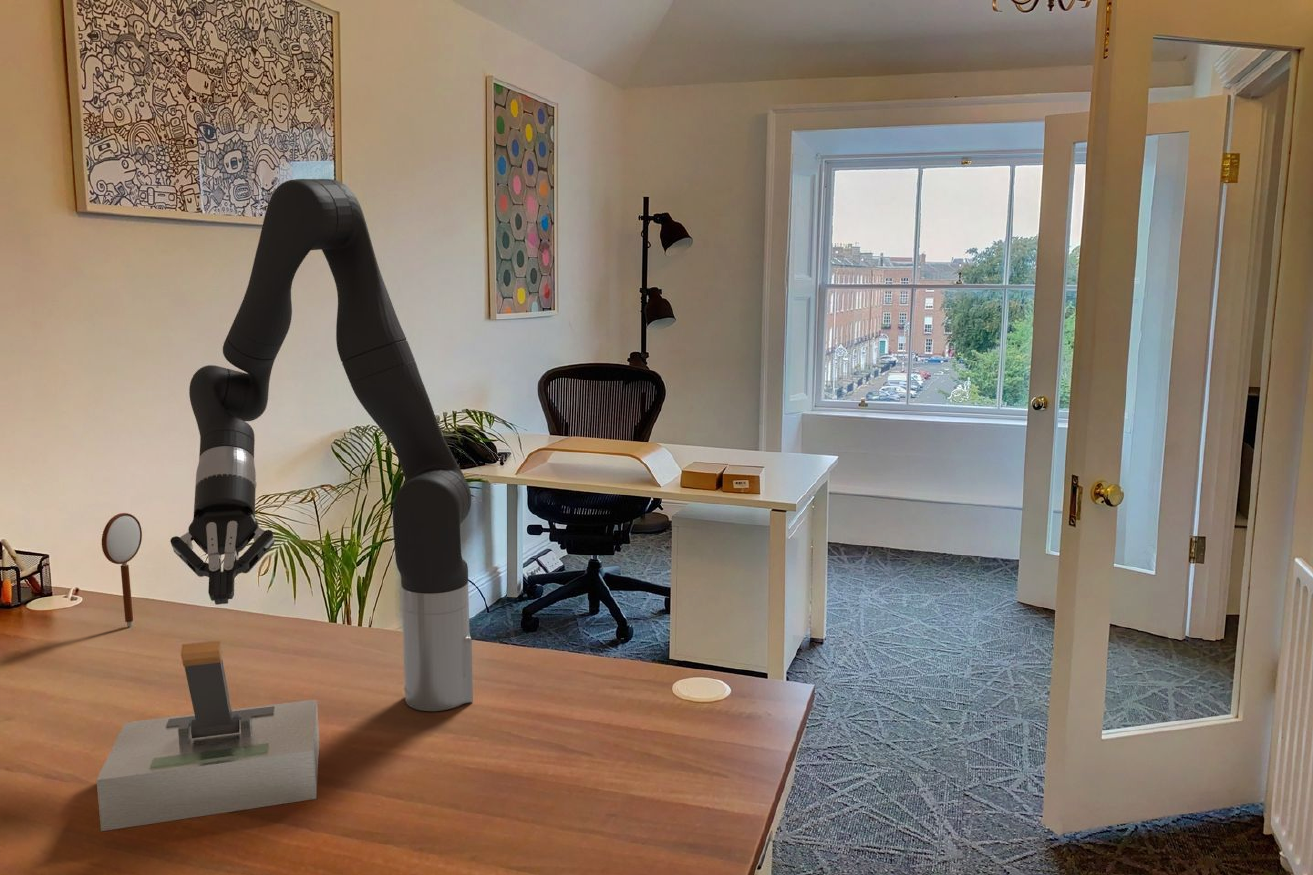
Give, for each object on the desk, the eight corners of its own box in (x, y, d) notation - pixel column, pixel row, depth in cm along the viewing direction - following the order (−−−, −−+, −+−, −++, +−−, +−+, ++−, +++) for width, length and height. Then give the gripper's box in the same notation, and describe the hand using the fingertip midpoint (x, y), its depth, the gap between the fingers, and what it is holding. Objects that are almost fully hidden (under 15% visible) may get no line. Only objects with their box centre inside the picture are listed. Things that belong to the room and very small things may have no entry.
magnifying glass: (115, 636, 157) (105, 520, 154) (106, 635, 157) (96, 519, 154) (151, 618, 165) (142, 508, 162) (143, 617, 166) (134, 507, 162)
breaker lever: (240, 720, 113) (226, 637, 104) (239, 736, 111) (225, 652, 102) (194, 726, 111) (176, 642, 102) (192, 742, 109) (174, 657, 101)
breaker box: (319, 742, 122) (316, 684, 120) (316, 798, 108) (312, 734, 107) (128, 768, 115) (123, 706, 113) (101, 831, 102) (94, 762, 100)
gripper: (167, 475, 123) (157, 593, 114) (275, 469, 128) (274, 582, 118) (177, 505, 129) (168, 619, 120) (279, 498, 133) (279, 609, 124)
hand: (221, 601), depth 119 cm, fingers closed
